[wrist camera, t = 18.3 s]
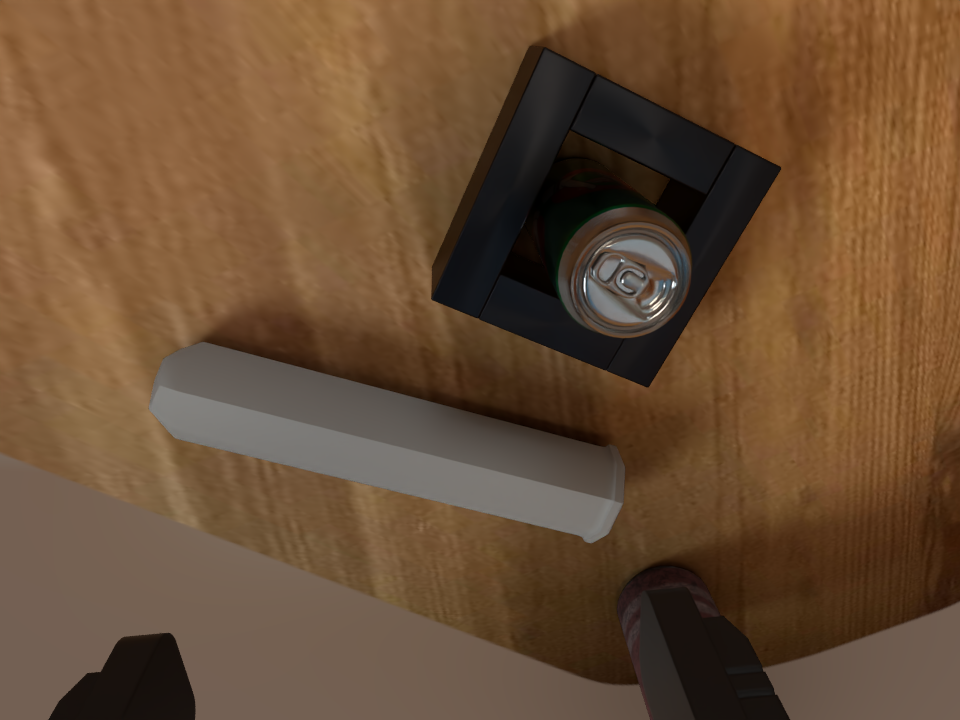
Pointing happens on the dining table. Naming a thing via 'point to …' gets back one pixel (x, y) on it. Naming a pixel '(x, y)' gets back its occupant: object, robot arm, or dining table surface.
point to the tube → (387, 440)
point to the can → (650, 581)
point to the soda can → (609, 250)
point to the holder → (521, 174)
